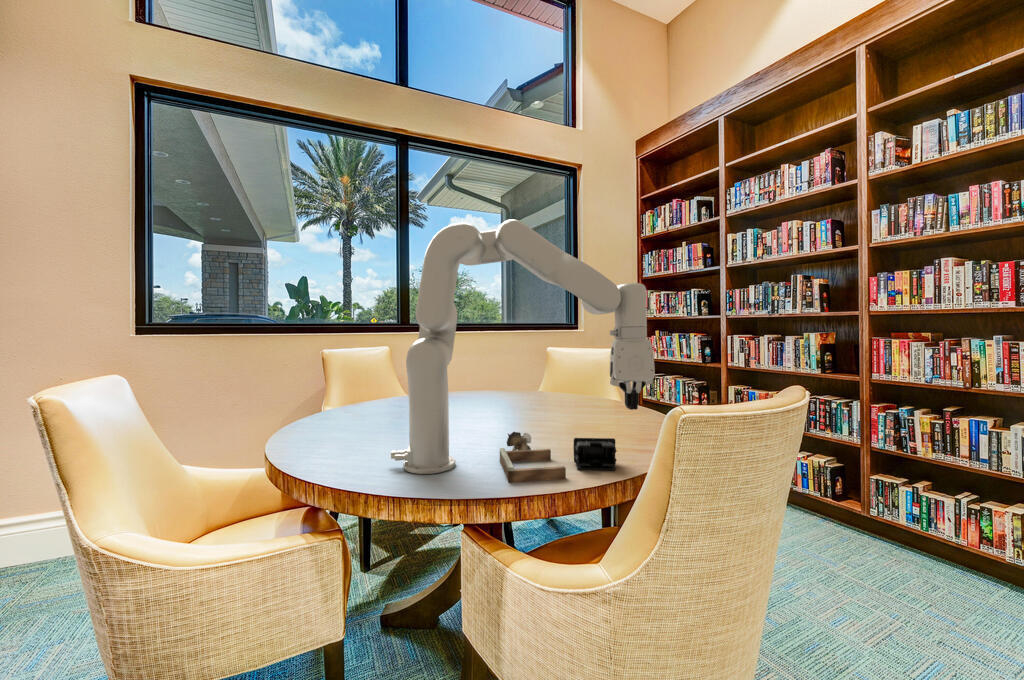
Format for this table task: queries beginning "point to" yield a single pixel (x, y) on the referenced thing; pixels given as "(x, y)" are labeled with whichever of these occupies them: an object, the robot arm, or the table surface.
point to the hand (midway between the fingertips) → (631, 408)
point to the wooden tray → (529, 473)
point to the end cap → (595, 454)
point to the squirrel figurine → (519, 441)
